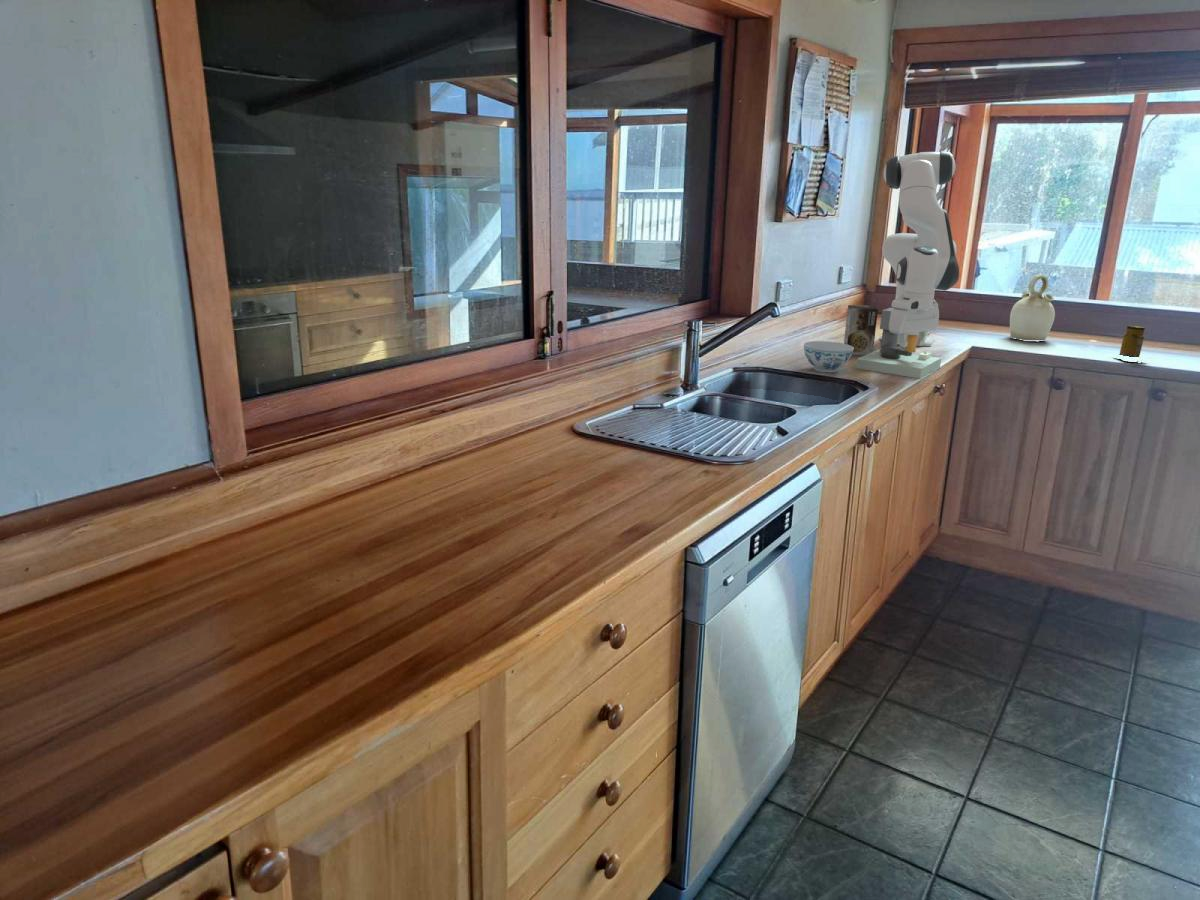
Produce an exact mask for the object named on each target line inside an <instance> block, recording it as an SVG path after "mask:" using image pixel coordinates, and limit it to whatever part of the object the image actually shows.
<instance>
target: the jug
mask: <svg viewBox="0 0 1200 900" xmlns="http://www.w3.org/2000/svg"><path fill="white" fill-rule="evenodd" d="M1039 280H1041V281H1042V285H1041V287H1040V288H1039V290H1037V291H1036V290H1035V285H1036V283H1037V282H1038V281H1039ZM1048 285H1049V280H1048V278H1047V276H1046V275H1044V274H1037V275H1034V276H1033V277H1032V278H1031V280H1030V281H1029V283H1028V287H1027V288H1028V292H1027V290H1023V291H1022V295H1021V299H1019V300H1018V301H1016V302H1015V303H1014V305H1013V306H1012V307H1011V310H1010V315H1009V334H1010V335H1009V336H1010V337H1012V338H1016V339H1022V340H1045V341H1046V339H1047V338H1048V336H1049V333H1050V331H1051V329H1052V326H1053V323H1054V321H1055V317H1056V311H1055V308H1054V305H1053V304H1052V303H1051V302H1052V301H1054V300H1055V299H1054V296H1053V295H1051V294H1050V293H1045V292H1046V290H1047V288H1048V287H1049V286H1048Z"/></svg>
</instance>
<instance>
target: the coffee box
mask: <svg viewBox="0 0 1200 900" xmlns="http://www.w3.org/2000/svg"><path fill="white" fill-rule="evenodd" d="M878 313H879V308H878V307H877V306H875V305H858V304H857V305H856V304H848V306H847V313H846V320H845V321H846V322H845V332H844V339H843V344H847V345H850V346H852V347H854V350H853V353H852V355H853V356H865V355H867V354H869V353H872V352H874V346H875V338H876V330H877V324H878V323H877V321H878V316H879V315H878ZM852 355H851V356H852Z"/></svg>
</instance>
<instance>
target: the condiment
mask: <svg viewBox="0 0 1200 900" xmlns="http://www.w3.org/2000/svg"><path fill="white" fill-rule="evenodd" d="M1145 329H1146V328H1145V327H1144V326H1140V325H1132V324H1129V325H1127V327H1126V330H1125V331H1126V332H1125V333H1124V334H1123V338H1122V342H1121V346H1120V350H1119V355H1123V356H1129V357H1139V358H1140V355H1141V352H1142V347H1143V345H1144V344H1143V343H1144V340H1145V336H1144V334H1145ZM1119 355H1118V356H1119Z"/></svg>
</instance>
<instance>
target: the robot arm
mask: <svg viewBox="0 0 1200 900" xmlns="http://www.w3.org/2000/svg"><path fill="white" fill-rule="evenodd" d="M885 163H886V164H885V166H884V169H883V179H884V181H885V184H886V186H887V187H888V188H890V189H895V190H899V193H898V194H899V196H898V202H899V203H898V204H899V210H900V214H901V217H902V221H903V222H904V225H906V226H907V227H908V228H910V229H911V230H913V231H914V232H915V233H908V232H900V233H893V234H889V235H888V236H887V237H886V238H885V240H884V242H883V244H882V247H881V252H882V256H883V258H884V259H885V261H886V262H887V263H889V265H890V266H891V267H892V269H893V272H894V275H895V280H896V289H895V299H893V300H892V302H891V308H894V309H893V310H892V311H891V314H890V320H889V331H890V333H894V334H898V342H897V345H898V347H901V348H902V349H905V348H906V347H907V344H908V342H907V335H909V334H911V335H917V336H918V337H917V344H916V347H921V346H922V347H923V346H924V347H932V345H933V342H934V341H935V339H934V337H933V336H930V333H931V331H936V330H938V327H939V321H940V309H939V303H938V302H937V301H936V300H935V292H936V290H940V291H946V292H947V291H948V290H950V289H952V288H953V287H954V286H956V284H957V283H958V281H959V278H960V265H959V262H958V260H957V256H956V255H957V250H958V249H957V244H956V242H955V240H954V239H953V233H952V229H951V222H950V219H949V216H948V215H949V214H948V212H947V210H945V209H944V208H942V206H941V205H940V203H939V201H938V198H937V185H939V186H943V185H945V184H948V183H949V182H950V181H951V180H952V179H953V176H954V174H955V172H956V160H955V159H954V156H953V154H952V153H951V152H949V151H945V150H940V151H921V152H917V153H910V154H905V155H900V156H899V155H896V156H893V157H890V158H888V160H887V161H886V162H885ZM879 340H882V335H880V336H879Z"/></svg>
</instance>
